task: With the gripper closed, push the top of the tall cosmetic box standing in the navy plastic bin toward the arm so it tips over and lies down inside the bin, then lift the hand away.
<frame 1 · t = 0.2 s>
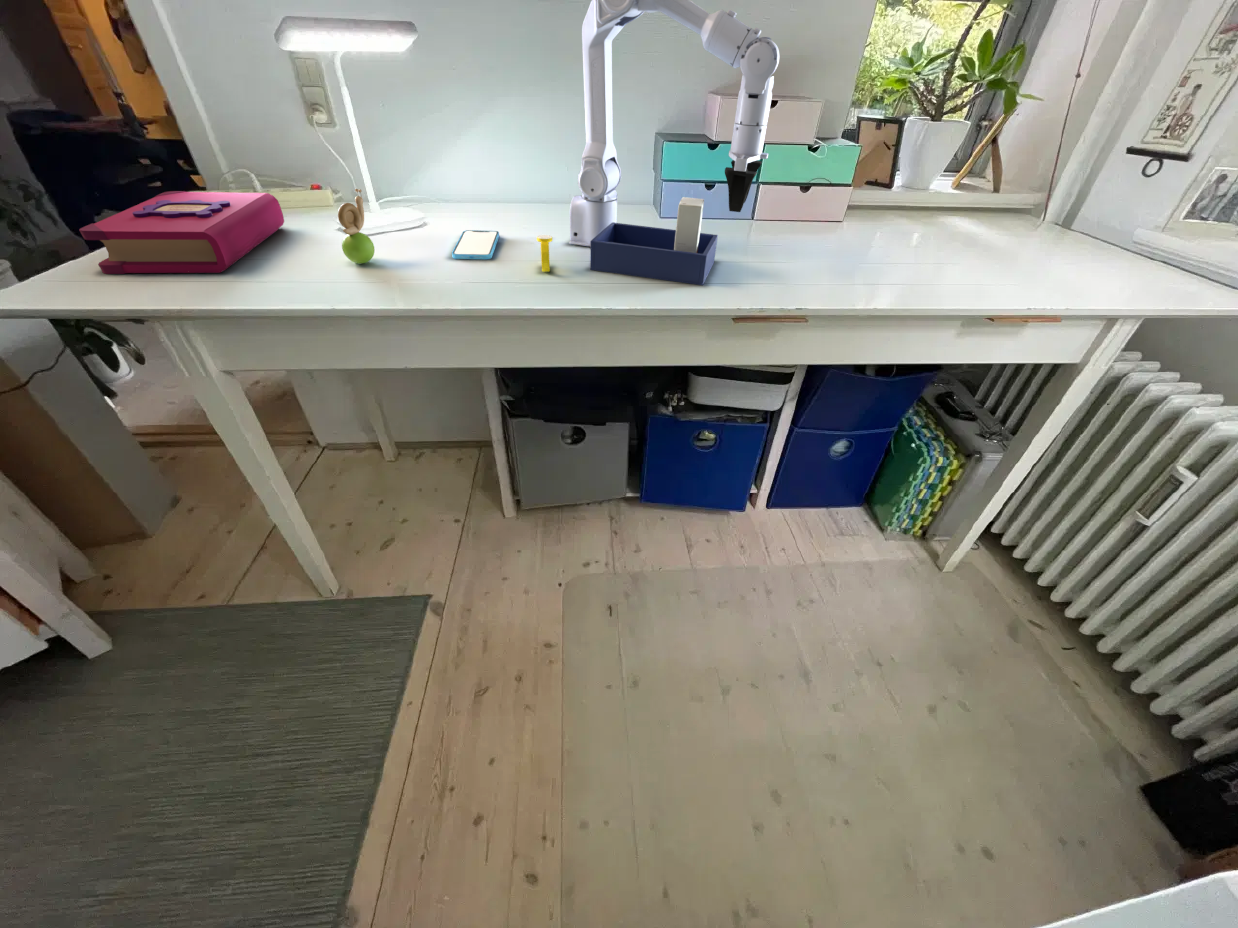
hand: (737, 206, 105), 10 cm above the table, tool pointing down, fingers open, 7 cm apart
bin: (653, 266, 107), on the table
cosmetic box: (684, 269, 106), resting on bin
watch: (546, 270, 103), on the table
snail figurine: (364, 263, 103), on the table
book: (204, 249, 106), on the table
smartphone: (477, 248, 112), on the table
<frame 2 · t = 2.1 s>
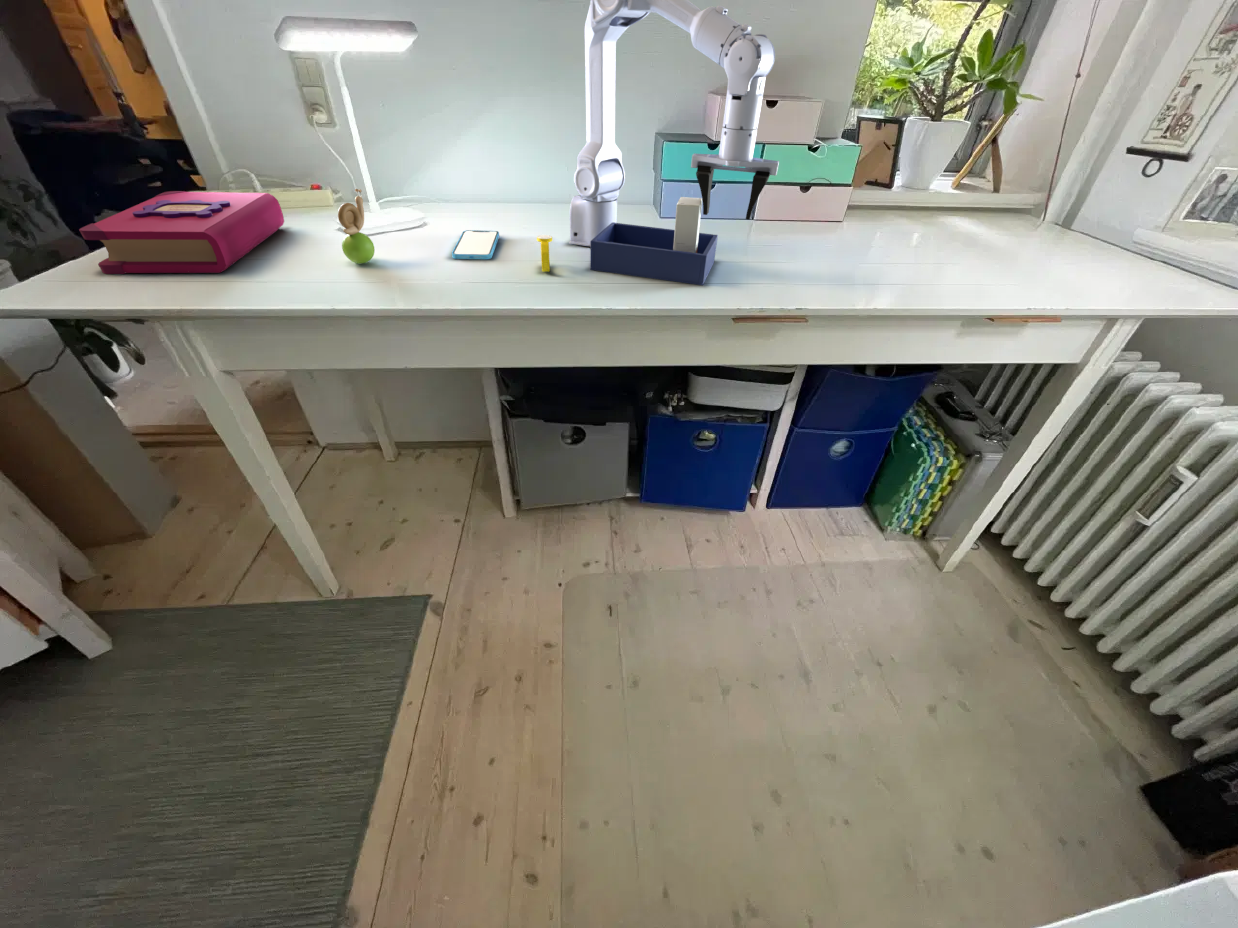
hand: (726, 216, 98), 10 cm above the table, tool pointing down, fingers open, 7 cm apart
cosmetic box: (684, 269, 106), resting on bin, touching gripper
everything else where it was.
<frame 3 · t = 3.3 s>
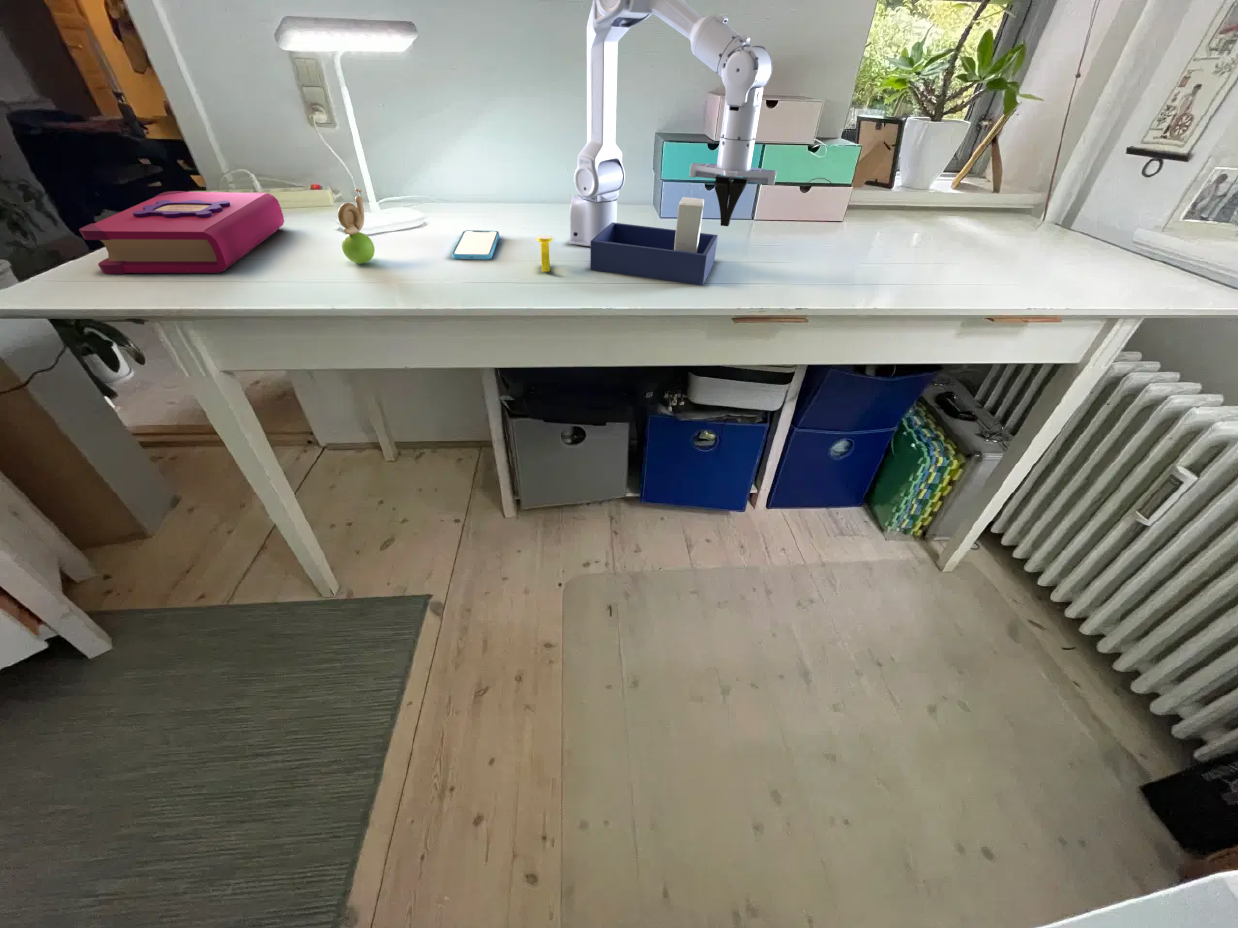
hand: (725, 224, 99), 9 cm above the table, tool pointing down, fingers closed
cosmetic box: (684, 269, 106), resting on bin
everything else where it was.
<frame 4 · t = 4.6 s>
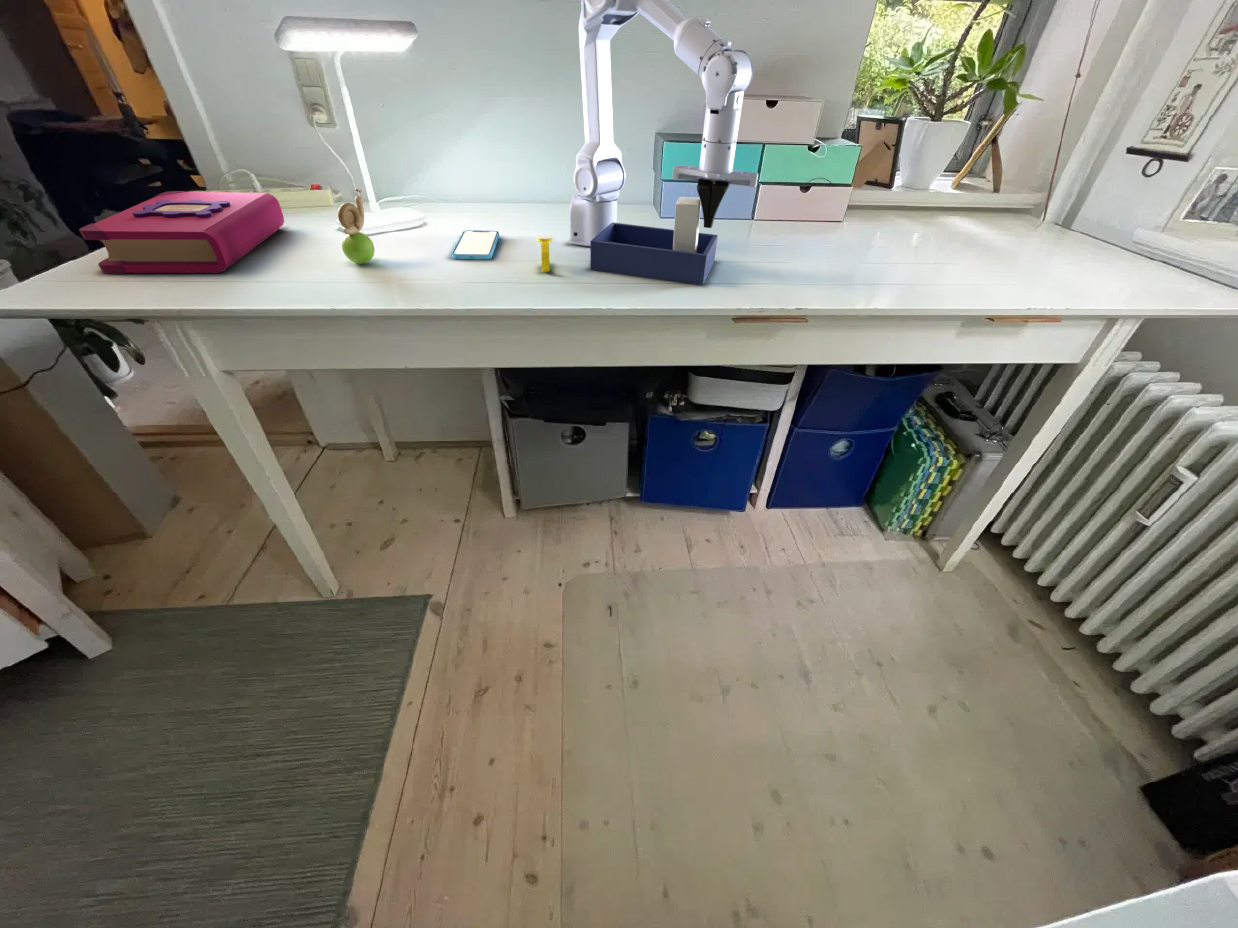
hand: (708, 226, 100), 8 cm above the table, tool pointing down, fingers closed
cosmetic box: (684, 269, 106), resting on bin, touching gripper
everything else where it was.
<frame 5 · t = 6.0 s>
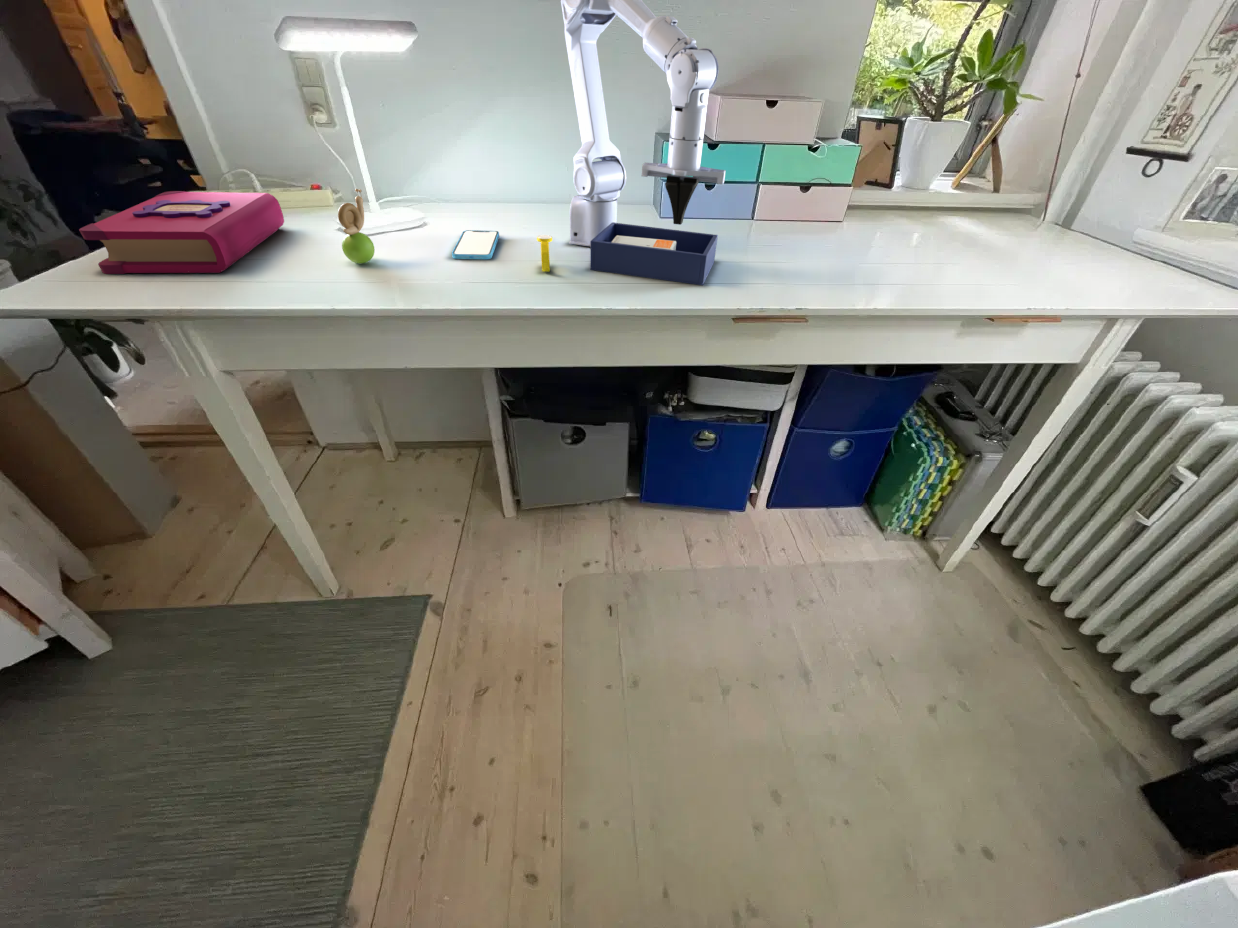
hand: (678, 223, 101), 8 cm above the table, tool pointing down, fingers closed
cosmetic box: (674, 256, 105), point 2 cm above the table, touching bin
everything else where it was.
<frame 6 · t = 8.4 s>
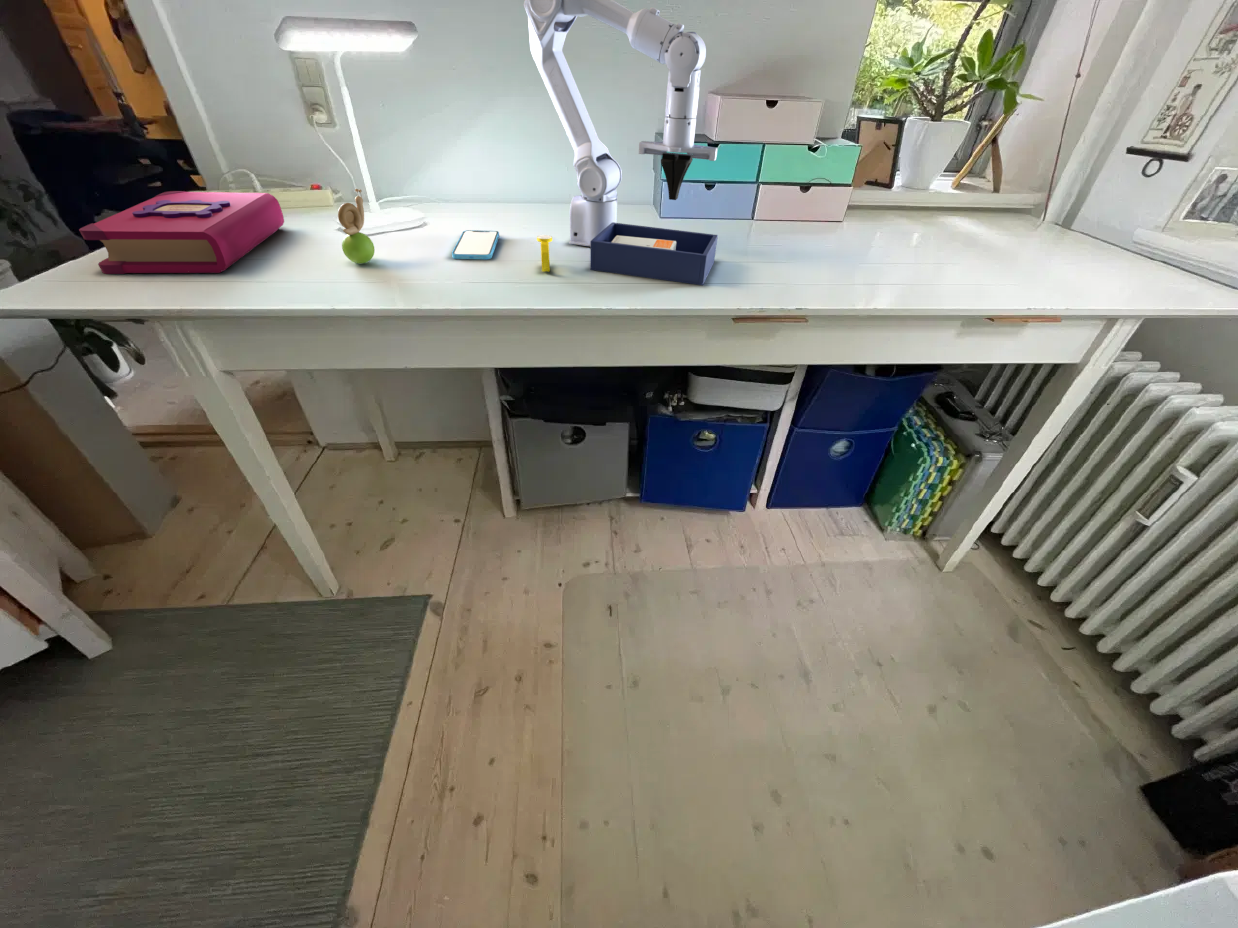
hand: (673, 198, 107), 10 cm above the table, tool pointing down, fingers closed
nothing on the table moved.
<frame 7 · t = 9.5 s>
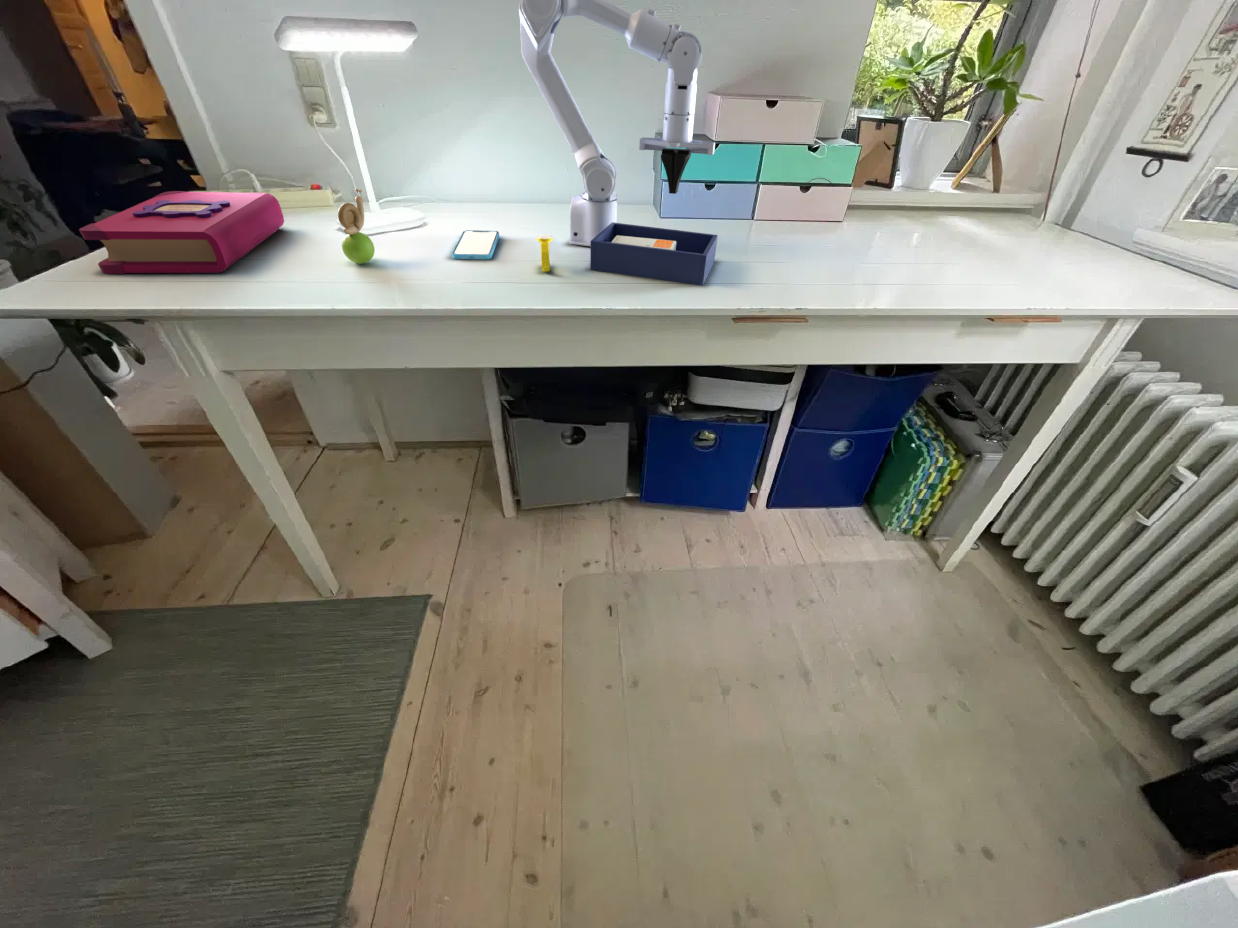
hand: (673, 192, 111), 10 cm above the table, tool pointing down, fingers closed
nothing on the table moved.
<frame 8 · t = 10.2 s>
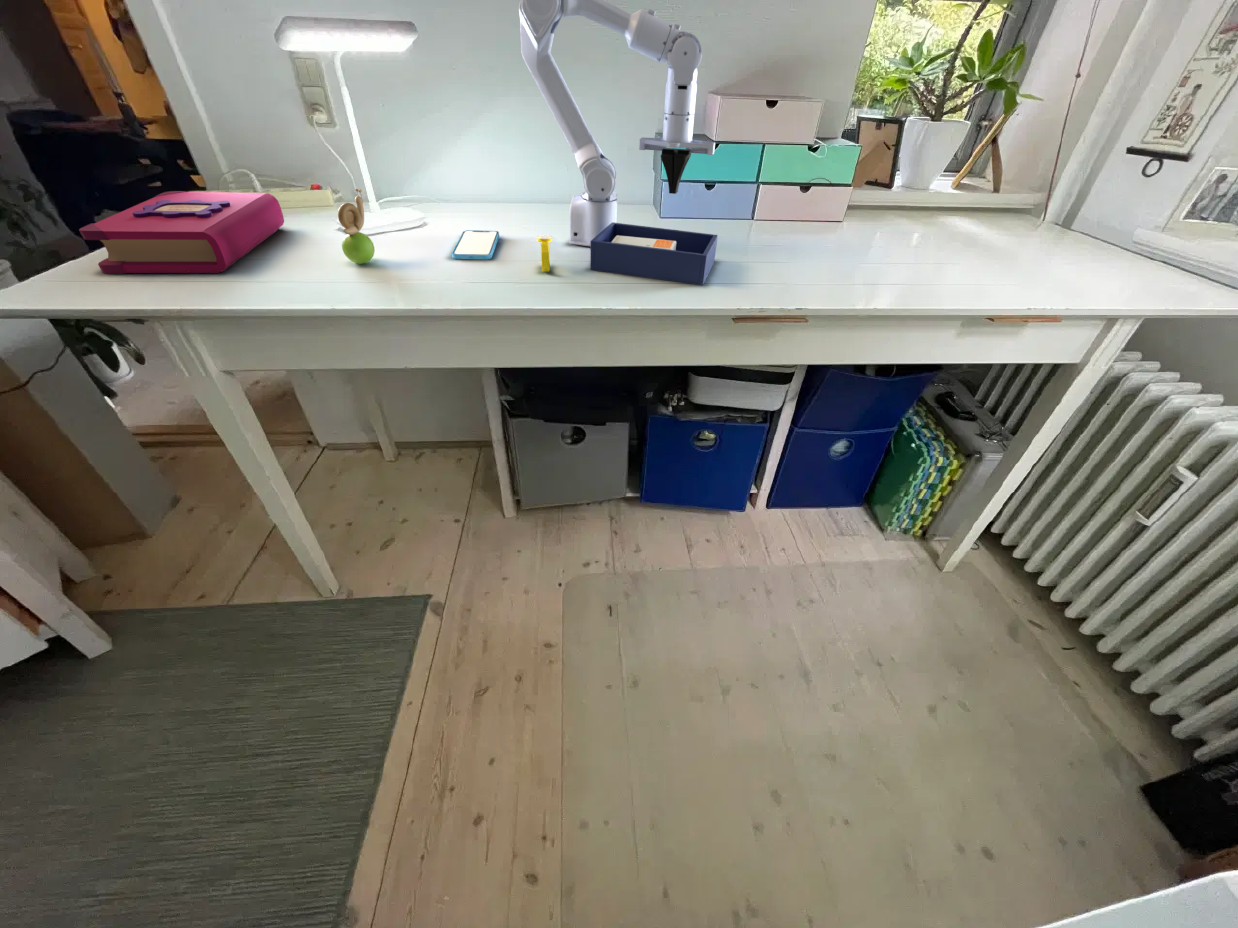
hand: (673, 192, 111), 10 cm above the table, tool pointing down, fingers closed
nothing on the table moved.
at the end: cosmetic box tilted 91°; cosmetic box inside the target area in the bin (4.0 cm from its centre), point 2.5 cm above the bin's base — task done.
